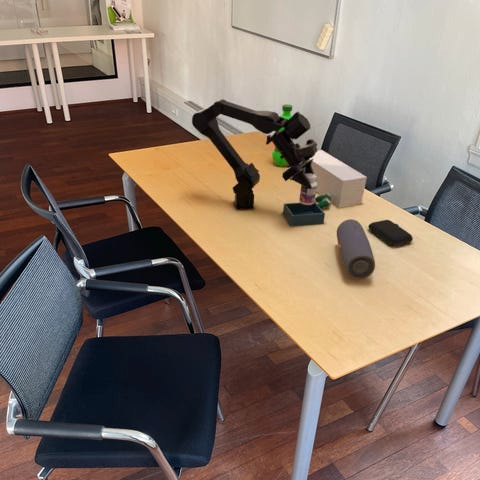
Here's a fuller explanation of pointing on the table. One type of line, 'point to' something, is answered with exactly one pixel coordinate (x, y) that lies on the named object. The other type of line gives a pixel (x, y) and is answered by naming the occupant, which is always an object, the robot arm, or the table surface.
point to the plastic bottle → (287, 115)
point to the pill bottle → (308, 191)
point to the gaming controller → (323, 200)
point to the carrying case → (390, 232)
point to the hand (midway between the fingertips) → (313, 185)
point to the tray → (303, 214)
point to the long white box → (338, 180)
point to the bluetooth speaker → (355, 249)
